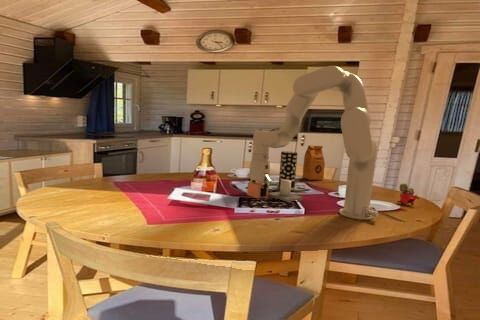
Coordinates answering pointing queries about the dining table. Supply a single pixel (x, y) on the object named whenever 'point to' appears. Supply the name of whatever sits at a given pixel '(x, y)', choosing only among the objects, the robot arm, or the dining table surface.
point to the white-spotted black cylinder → (288, 168)
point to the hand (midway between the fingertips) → (257, 194)
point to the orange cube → (255, 189)
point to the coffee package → (313, 163)
